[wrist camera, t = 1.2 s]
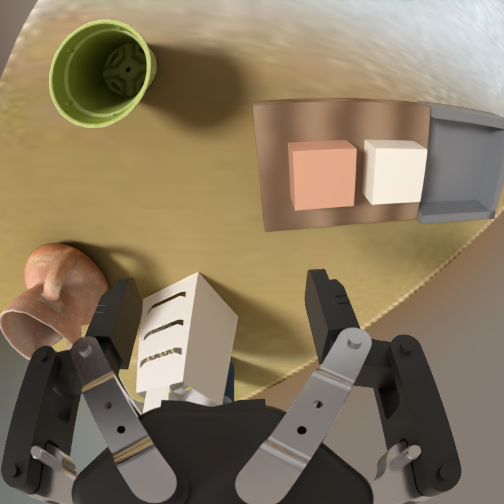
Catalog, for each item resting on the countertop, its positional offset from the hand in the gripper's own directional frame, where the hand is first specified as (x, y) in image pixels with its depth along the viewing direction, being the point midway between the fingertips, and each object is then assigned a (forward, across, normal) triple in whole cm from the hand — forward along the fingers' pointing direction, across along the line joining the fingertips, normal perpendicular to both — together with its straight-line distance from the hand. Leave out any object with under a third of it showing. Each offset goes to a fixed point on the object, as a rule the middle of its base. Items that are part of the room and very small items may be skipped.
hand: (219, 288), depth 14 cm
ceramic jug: (+22, +25, +16) cm, 37 cm away
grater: (+22, +7, +23) cm, 33 cm away
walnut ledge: (+21, -13, +1) cm, 25 cm away
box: (+21, -29, 0) cm, 36 cm away
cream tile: (+18, -17, +1) cm, 25 cm away
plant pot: (+22, +10, -10) cm, 26 cm away
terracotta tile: (+18, -9, +1) cm, 21 cm away
